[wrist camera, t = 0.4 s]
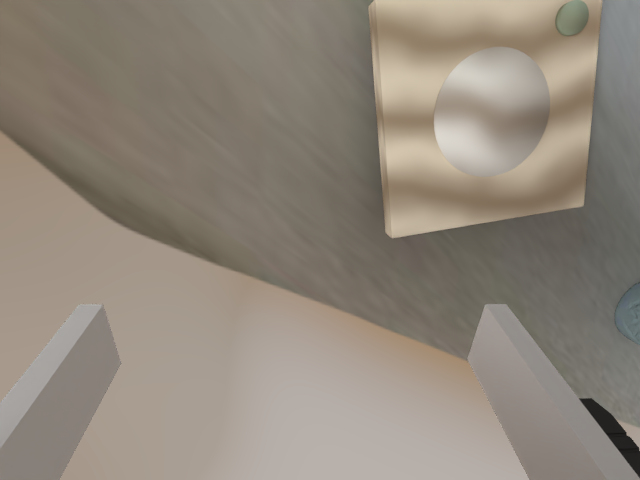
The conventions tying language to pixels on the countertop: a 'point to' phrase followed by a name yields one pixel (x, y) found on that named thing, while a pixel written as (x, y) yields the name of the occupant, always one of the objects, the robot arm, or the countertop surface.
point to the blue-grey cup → (629, 314)
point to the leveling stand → (482, 108)
